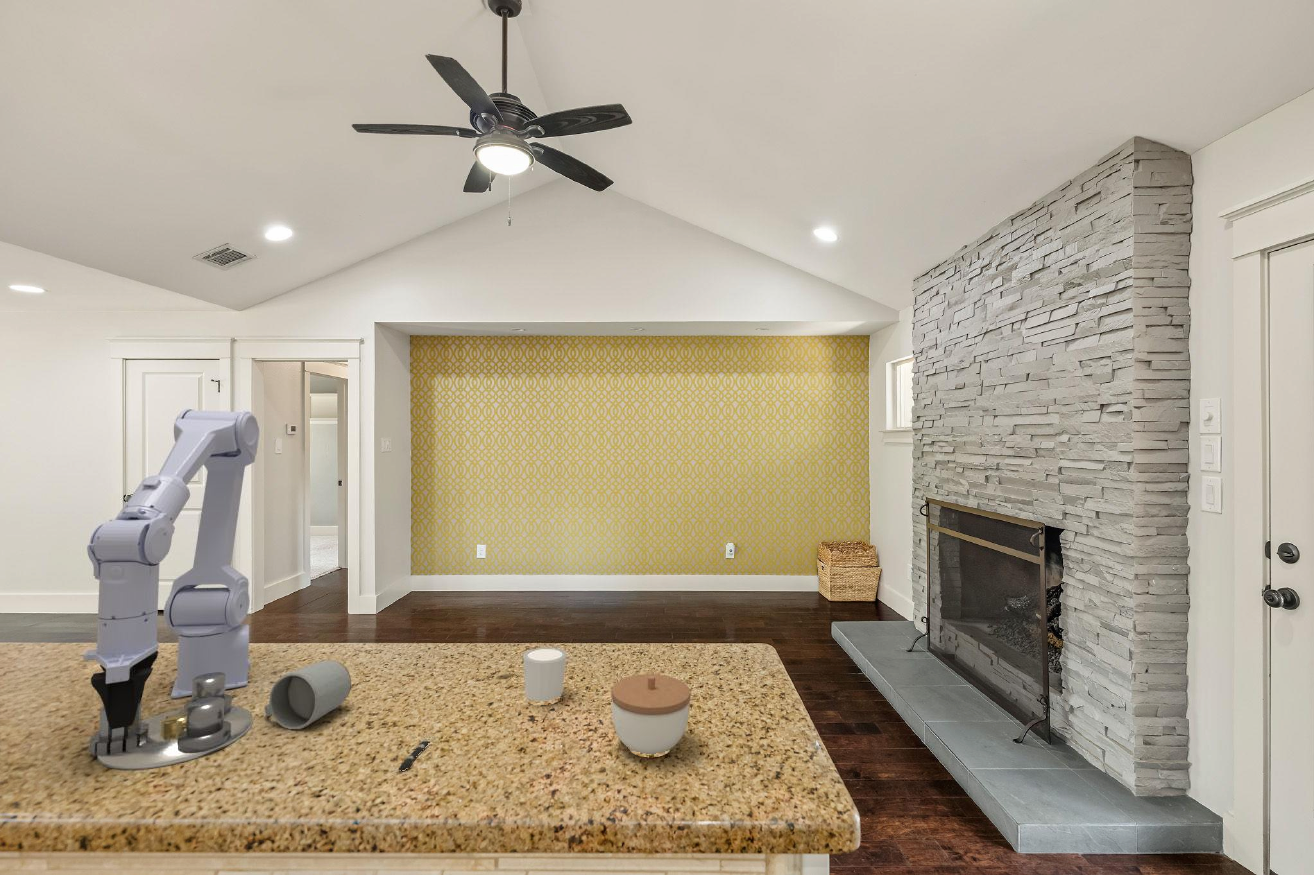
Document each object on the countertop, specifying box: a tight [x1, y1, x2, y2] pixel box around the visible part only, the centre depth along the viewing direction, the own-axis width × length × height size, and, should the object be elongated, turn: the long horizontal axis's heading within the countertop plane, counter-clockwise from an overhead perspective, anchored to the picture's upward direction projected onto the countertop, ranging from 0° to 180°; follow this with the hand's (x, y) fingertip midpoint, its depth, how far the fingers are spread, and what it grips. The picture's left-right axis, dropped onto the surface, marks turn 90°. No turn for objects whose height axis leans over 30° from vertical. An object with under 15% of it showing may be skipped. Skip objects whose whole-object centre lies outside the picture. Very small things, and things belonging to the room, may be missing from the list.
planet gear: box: [88, 699, 149, 756], centre depth 75 cm, size 6×6×5 cm
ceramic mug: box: [264, 660, 352, 730], centre depth 86 cm, size 11×8×8 cm
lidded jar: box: [610, 673, 692, 754], centre depth 80 cm, size 11×11×9 cm
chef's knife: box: [398, 731, 435, 771], centre depth 81 cm, size 19×1×3 cm
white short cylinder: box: [522, 647, 567, 702], centre depth 94 cm, size 7×7×7 cm
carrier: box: [96, 672, 254, 771], centre depth 79 cm, size 16×16×6 cm
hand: (124, 719), depth 75 cm, fingers closed on planet gear, 4 cm apart
